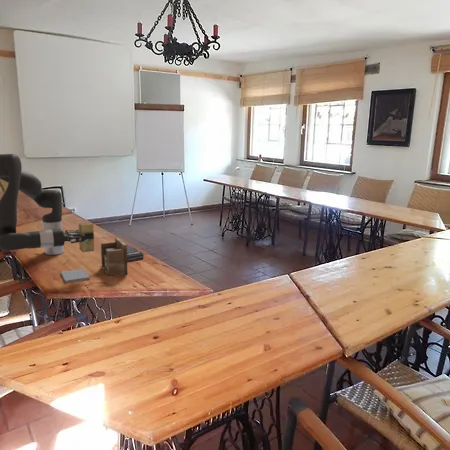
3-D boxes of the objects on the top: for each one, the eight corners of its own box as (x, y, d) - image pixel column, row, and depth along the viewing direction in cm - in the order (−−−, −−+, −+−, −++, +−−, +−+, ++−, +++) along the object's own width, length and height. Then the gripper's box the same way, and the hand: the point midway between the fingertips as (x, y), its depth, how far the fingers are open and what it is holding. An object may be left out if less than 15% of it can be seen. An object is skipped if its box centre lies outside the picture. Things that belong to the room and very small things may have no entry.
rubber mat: (61, 273, 181) (60, 271, 181) (83, 270, 186) (83, 268, 186) (65, 282, 171) (65, 280, 171) (89, 279, 176) (89, 277, 176)
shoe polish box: (94, 250, 178) (93, 224, 175) (82, 252, 175) (81, 225, 172) (90, 248, 182) (89, 222, 179) (79, 249, 179) (78, 223, 176)
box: (103, 254, 213) (118, 264, 197) (103, 248, 212) (117, 257, 197) (128, 250, 221) (143, 259, 206) (128, 244, 220) (143, 252, 205)
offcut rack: (101, 267, 191) (100, 239, 188) (118, 264, 195) (117, 237, 192) (109, 276, 179) (108, 247, 176) (127, 274, 183) (126, 245, 180)
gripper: (53, 233, 163) (95, 230, 171) (48, 225, 175) (88, 222, 183) (54, 251, 164) (96, 246, 173) (49, 242, 176) (88, 238, 185)
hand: (91, 234), depth 178 cm, fingers closed on shoe polish box, 5 cm apart
